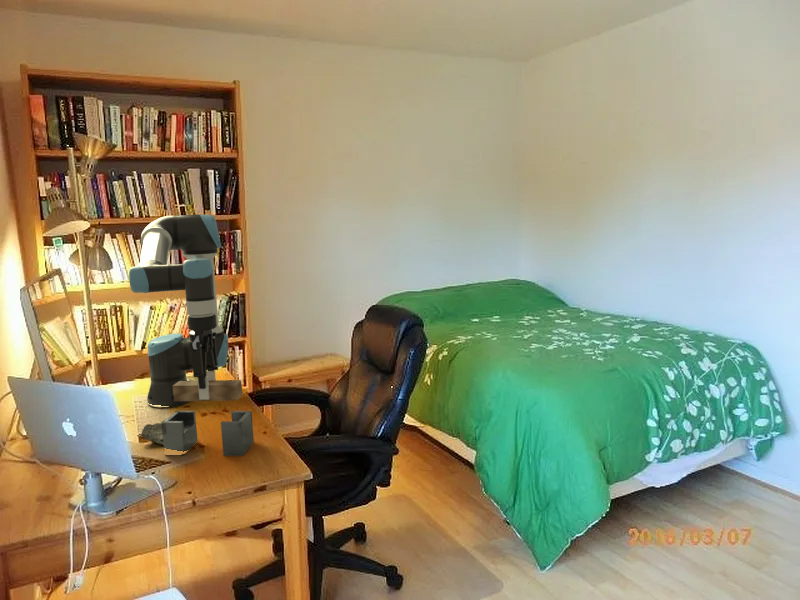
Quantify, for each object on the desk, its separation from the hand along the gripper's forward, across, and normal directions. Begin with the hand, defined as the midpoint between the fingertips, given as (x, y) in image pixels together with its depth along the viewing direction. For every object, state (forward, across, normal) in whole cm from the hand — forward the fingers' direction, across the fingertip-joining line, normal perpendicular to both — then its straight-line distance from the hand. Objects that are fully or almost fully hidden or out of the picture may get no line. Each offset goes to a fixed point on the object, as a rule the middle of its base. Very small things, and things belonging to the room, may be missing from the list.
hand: (208, 395), depth 171 cm
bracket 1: (+15, +1, -9) cm, 18 cm away
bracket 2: (+15, +1, +8) cm, 17 cm away
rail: (+1, 0, 0) cm, 1 cm away
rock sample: (+15, -4, -16) cm, 23 cm away
